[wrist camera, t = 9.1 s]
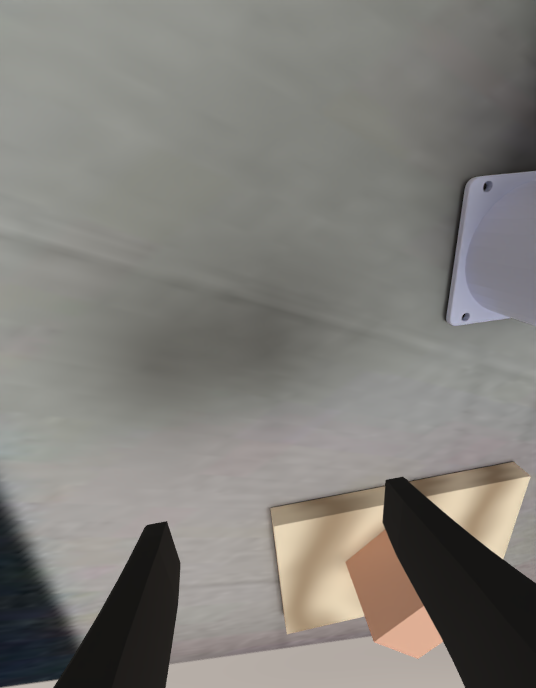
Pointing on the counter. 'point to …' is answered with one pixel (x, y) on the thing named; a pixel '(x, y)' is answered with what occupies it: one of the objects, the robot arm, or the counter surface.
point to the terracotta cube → (391, 600)
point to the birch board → (366, 523)
